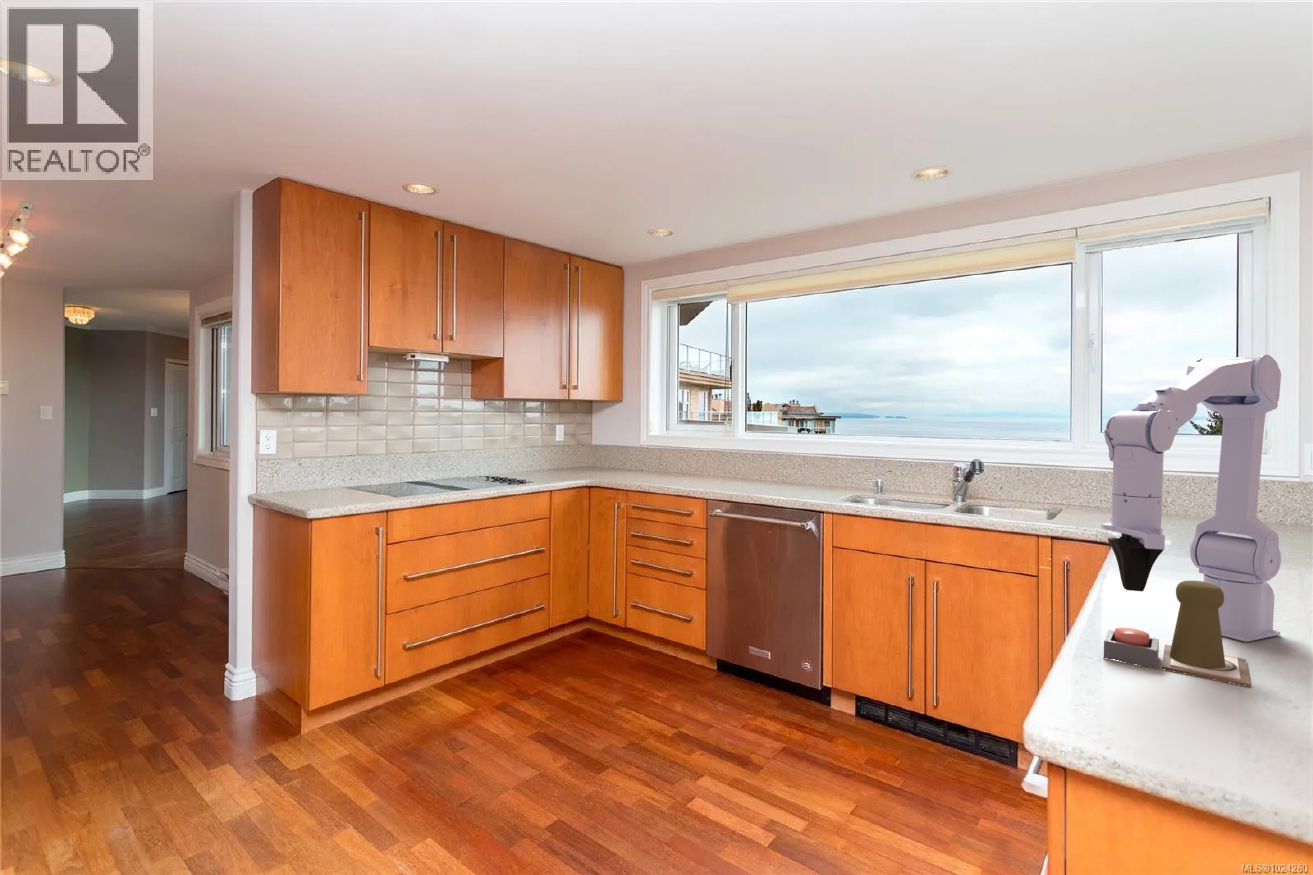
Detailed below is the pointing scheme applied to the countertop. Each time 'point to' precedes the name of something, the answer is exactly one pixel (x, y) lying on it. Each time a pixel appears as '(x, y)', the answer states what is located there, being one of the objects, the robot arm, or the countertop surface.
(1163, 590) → the countertop surface
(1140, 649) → the button housing
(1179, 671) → the sketch board
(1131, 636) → the button
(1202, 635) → the brown tapered cone
